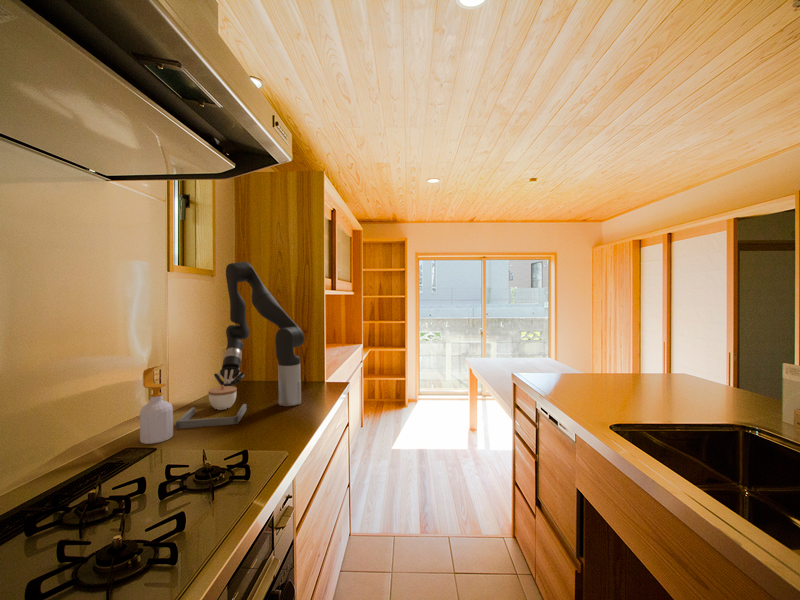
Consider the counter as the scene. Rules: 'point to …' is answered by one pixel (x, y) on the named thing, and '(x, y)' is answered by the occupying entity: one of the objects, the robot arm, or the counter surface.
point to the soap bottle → (155, 413)
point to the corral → (208, 419)
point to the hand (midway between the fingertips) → (226, 392)
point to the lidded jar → (222, 397)
